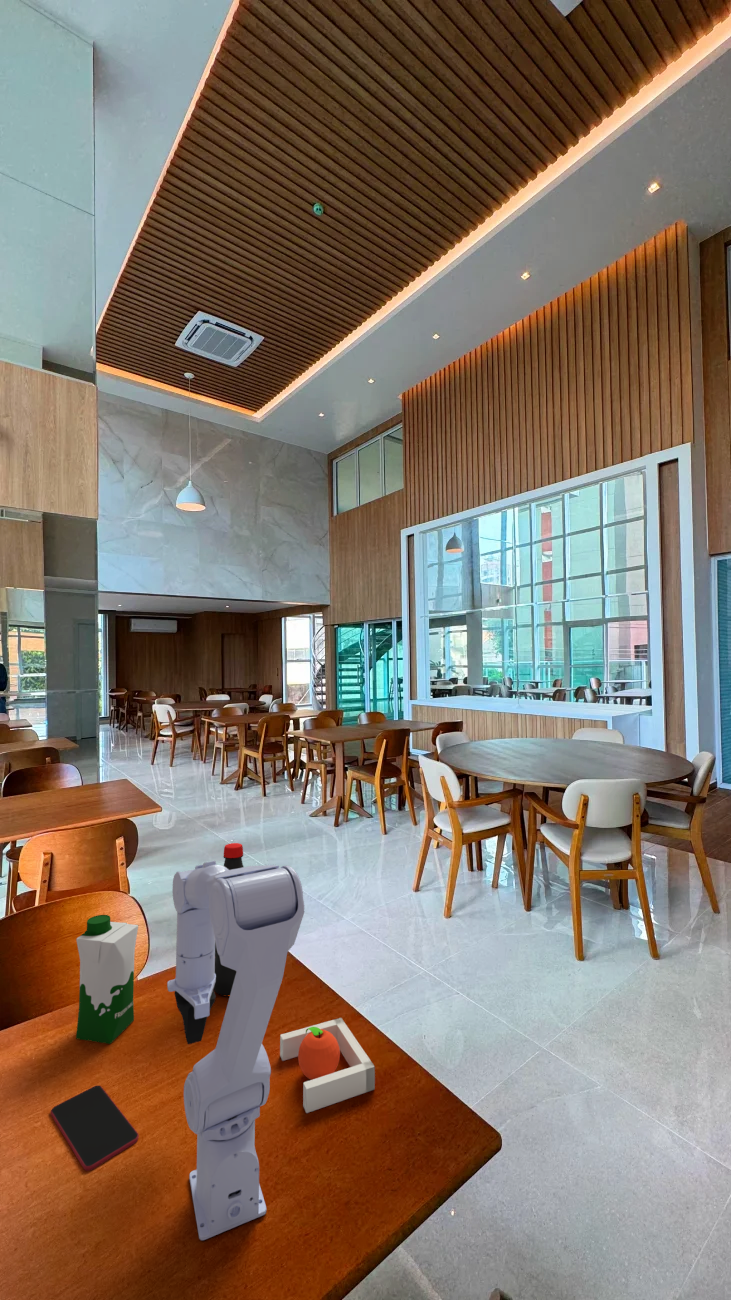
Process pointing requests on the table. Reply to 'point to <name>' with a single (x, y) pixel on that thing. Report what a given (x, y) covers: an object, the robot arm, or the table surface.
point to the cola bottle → (223, 973)
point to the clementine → (318, 1053)
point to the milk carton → (106, 979)
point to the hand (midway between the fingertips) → (193, 1040)
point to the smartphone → (94, 1127)
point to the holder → (339, 1082)
